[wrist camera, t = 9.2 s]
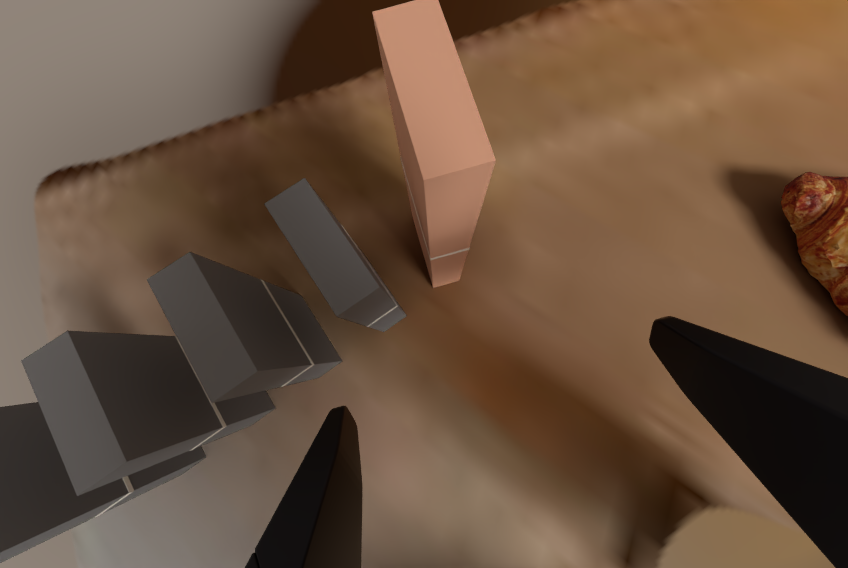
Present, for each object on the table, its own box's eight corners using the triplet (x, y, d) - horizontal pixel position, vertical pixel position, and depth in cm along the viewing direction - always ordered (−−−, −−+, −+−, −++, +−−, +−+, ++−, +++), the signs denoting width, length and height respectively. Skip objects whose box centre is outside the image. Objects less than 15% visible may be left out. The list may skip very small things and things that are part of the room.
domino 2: (206, 457, 20) (-14, 559, 10) (180, 475, 20) (-69, 597, 10) (170, 384, 21) (-64, 414, 11) (144, 401, 21) (-114, 447, 11)
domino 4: (407, 315, 21) (380, 287, 11) (383, 332, 21) (336, 317, 11) (363, 252, 22) (304, 177, 12) (341, 268, 22) (263, 203, 12)
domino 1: (276, 408, 20) (127, 461, 11) (250, 425, 20) (76, 497, 11) (236, 338, 21) (67, 330, 12) (212, 355, 21) (20, 360, 12)
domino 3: (343, 361, 21) (258, 371, 11) (318, 378, 21) (211, 403, 11) (301, 295, 22) (190, 250, 12) (277, 311, 22) (146, 279, 12)
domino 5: (459, 280, 22) (496, 160, 8) (432, 288, 22) (423, 181, 8) (437, 209, 23) (436, -7, 9) (412, 216, 23) (371, 11, 9)
